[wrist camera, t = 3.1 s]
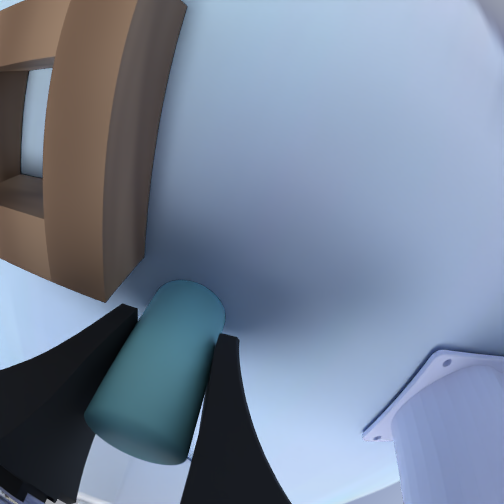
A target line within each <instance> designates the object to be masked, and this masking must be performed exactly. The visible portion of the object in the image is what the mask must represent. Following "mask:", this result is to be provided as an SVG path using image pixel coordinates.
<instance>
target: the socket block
mask: <svg viewBox="0 0 504 504" xmlns="http://www.w3.org/2000/svg"><path fill="white" fill-rule="evenodd" d="M186 9H187V6H186V5H185V4H184V3H183V2H182V1H181V0H25V1H22V2H20V3H17V4H15V5H12V6H10V7H8V8H6V9H3V10H1V11H0V258H1V259H3V260H5V261H7V262H9V263H11V264H13V265H15V266H17V267H20V268H22V269H24V270H26V271H28V272H31V273H33V274H35V275H37V276H40V277H42V278H44V279H46V280H49V281H51V282H53V283H56V284H58V285H61V286H63V287H66V288H68V289H71V290H73V291H76V292H78V293H81V294H83V295H86V296H88V297H91V298H94V299H96V300H99V301H102V302H104V303H106V302H107V300H108V299H109V298H110V297H111V295H112V294H113V293H114V292H115V291H116V289H117V288H118V287H119V286H120V285H121V283H122V282H123V281H124V280H125V279H126V277H127V276H128V275H129V274H130V273H131V272H132V270H133V269H134V268H135V267H136V266H137V265H138V263H139V262H140V261H141V260H142V259H143V258H144V252H145V236H146V223H147V212H148V201H149V192H150V183H151V175H152V167H153V160H154V153H155V146H156V139H157V133H158V127H159V122H160V116H161V111H162V105H163V100H164V95H165V90H166V86H167V81H168V77H169V72H170V68H171V64H172V59H173V55H174V51H175V48H176V44H177V40H178V36H179V33H180V29H181V26H182V22H183V19H184V15H185V12H186ZM45 68H53V70H52V75H51V81H50V87H49V94H48V101H47V109H46V119H45V130H44V145H43V179H42V178H37V177H32V176H27V175H22V174H20V156H21V130H22V117H23V107H24V98H25V91H26V84H27V78H28V72H29V71H30V70H37V69H45Z"/></svg>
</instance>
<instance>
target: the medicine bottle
mask: <svg viewBox="0 0 504 504" xmlns="http://www.w3.org/2000/svg"><path fill="white" fill-rule="evenodd" d="M190 465H191V461H190V460H188V459H187V460H186V461H185V462H184V463H182V464H179V465H161V464H155V463H151V462H147V461H144V460H141V459H138V458H135V457H133V456H130V455H128V454H126V453H124V452H122V451H120V450H118V449H116V448H114V447H113V446H111V445H110V444H108V443H107V442H105V441H104V440H103V439H101V438H100V437H99V436H98V435H97V434H96V435H95V437H94V440H93V442H92V445H91V448H90V451H89V454H88V457H87V460H86V464H85V467H84V470H83V474H82V478H81V482H80V486H79V490H78V495H77V500H79V501H78V503H77V504H180V502H181V498H182V494H183V491H184V487H185V483H186V480H187V476H188V472H189V468H190Z"/></svg>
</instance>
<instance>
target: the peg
mask: <svg viewBox="0 0 504 504" xmlns="http://www.w3.org/2000/svg"><path fill="white" fill-rule="evenodd" d="M224 323H225V310H224V307H223V305H222V303H221V301H220V300H219V298H218V297H217V296H216V295H215V294H214V293H213V292H212V291H210V290H209V289H208V288H206V287H204V286H203V285H200V284H198V283H195V282H192V281H187V280H175V281H171V282H168V283H166V284H164V285H163V286H161V287H160V288H159V290H158V291H157V292H156V294H155V296H154V297H153V299H152V300H151V302H150V303H149V305H148V306H147V308H146V310H145V311H144V313H143V314H142V316H141V317H140V319H139V321H138V322H137V324H136V325H135V327H134V329H133V330H132V332H131V333H130V335H129V337H128V338H127V340H126V342H125V343H124V345H123V347H122V348H121V350H120V352H119V353H118V355H117V357H116V358H115V360H114V362H113V363H112V365H111V367H110V368H109V370H108V372H107V374H106V375H105V377H104V379H103V380H102V382H101V384H100V386H99V387H98V389H97V391H96V393H95V395H94V396H93V398H92V400H91V402H90V403H89V405H88V407H87V409H86V411H85V413H84V418H85V421H86V423H87V424H88V426H89V427H90V428H91V429H92V431H93V432H94V433H95V434H97V435H98V436H99V437H100V438H101V439H103V440H104V441H105V442H107V443H108V444H110V445H111V446H113V447H114V448H116V449H118V450H120V451H122V452H124V453H126V454H128V455H130V456H133V457H135V458H138V459H141V460H144V461H147V462H151V463H155V464H161V465H179V464H182V463H184V462H185V461H186V460H187V456H188V453H189V449H190V445H191V442H192V438H193V434H194V431H195V427H196V423H197V420H198V416H199V413H200V409H201V405H202V402H203V398H204V395H205V391H206V387H207V384H208V379H209V374H210V368H211V363H212V359H213V354H214V350H215V346H216V343H217V340H218V336H219V333H222V330H223V327H224Z"/></svg>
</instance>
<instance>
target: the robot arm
mask: <svg viewBox="0 0 504 504" xmlns="http://www.w3.org/2000/svg"><path fill="white" fill-rule="evenodd" d="M137 322H138V309H137V308H134V307H131V306H128V305H125V304H121V305H120V306H118V307H117V308H115V309H114V310H112V311H111V312H109V313H108V314H106V315H105V316H103V317H102V318H100V319H99V320H98V321H96V322H95V323H93V324H92V325H90V326H89V327H87V328H85V329H84V330H82V331H81V332H79V333H78V334H76V335H75V336H73V337H71V338H70V339H68V340H66V341H65V342H63V343H61V344H59V345H58V346H56V347H54V348H52V349H50V350H49V351H47V352H45V353H43V354H41V355H38V356H36V357H34V358H32V359H30V360H27V361H25V362H22V363H19V364H17V365H14V366H11V367H9V368H5V369H2V370H0V490H1V491H2V492H3V493H5V494H6V495H7V496H9V497H10V498H11V499H13V500H14V501H15V502H17V503H18V504H45V502H46V499H49V500H51V501H52V502H54V503H55V502H56V501H57V499H59V500H61V501H62V502H64V503H66V504H73V503H76V500H77V495H78V490H79V486H80V482H81V478H82V474H83V470H84V467H85V464H86V460H87V457H88V454H89V451H90V448H91V445H92V442H93V440H94V437H95V435H96V434H95V433H94V432H93V431H92V429H91V428H90V427H89V426H88V424H87V423H86V421H85V418H84V413H85V411H86V409H87V407H88V405H89V403H90V402H91V400H92V398H93V396H94V395H95V393H96V391H97V389H98V387H99V386H100V384H101V382H102V380H103V379H104V377H105V375H106V374H107V372H108V370H109V368H110V367H111V365H112V363H113V362H114V360H115V358H116V357H117V355H118V353H119V352H120V350H121V348H122V347H123V345H124V343H125V342H126V340H127V338H128V337H129V335H130V333H131V332H132V330H133V329H134V327H135V325H136V324H137ZM239 341H240V340H239V339H238V338H237V337H234V336H230V335H226V334H222V333H219V336H218V340H217V343H216V346H215V350H214V354H213V359H212V363H211V368H210V374H209V379H208V384H207V387H206V391H205V397H204V403H203V409H202V416H201V422H200V429H199V435H198V439H197V442H196V446H195V450H194V454H193V457H192V461H191V465H190V468H189V472H188V476H187V480H186V483H185V487H184V491H183V494H182V498H181V502H180V504H292V503H291V502H290V500H289V499H288V497H287V496H286V494H285V492H284V491H283V489H282V487H281V486H280V484H279V482H278V481H277V479H276V477H275V475H274V473H273V471H272V469H271V467H270V465H269V463H268V461H267V459H266V457H265V454H264V452H263V450H262V447H261V445H260V442H259V440H258V437H257V434H256V432H255V429H254V426H253V423H252V420H251V416H250V413H249V409H248V405H247V402H246V397H245V393H244V388H243V382H242V377H241V370H240V361H239ZM362 438H363V440H364V441H394V446H395V451H396V457H397V463H398V469H399V475H400V482H401V489H402V496H403V504H504V356H493V355H483V354H474V353H465V352H457V351H449V350H439V351H436V352H435V353H433V354H432V355H431V357H430V358H429V359H428V361H427V362H426V363H425V365H424V366H423V367H422V368H421V370H420V371H419V372H418V373H417V375H416V376H415V377H414V378H413V380H412V381H411V382H410V383H409V384H408V386H407V387H406V388H405V389H404V390H403V391H402V393H401V394H400V395H399V396H398V397H397V398H396V399H395V401H394V402H393V403H392V404H391V405H390V406H389V407H388V408H387V409H386V410H385V411H384V413H383V414H382V415H381V416H380V417H379V418H378V419H377V420H376V421H375V422H374V423H373V424H372V425H371V426H370V427H369V428H368V429H367V430H366V431H365V432H364V433H363V434H362ZM0 504H14V503H13V502H11V501H9V500H8V499H6V498H5V497H3V496H2V495H0Z"/></svg>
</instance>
